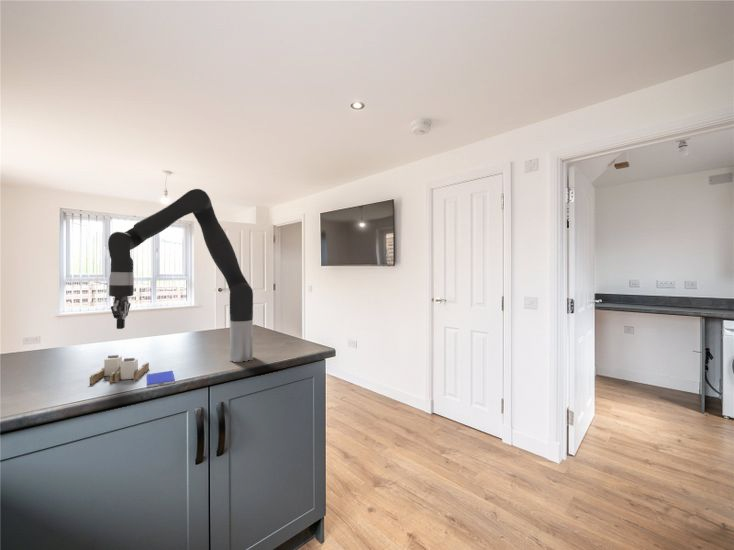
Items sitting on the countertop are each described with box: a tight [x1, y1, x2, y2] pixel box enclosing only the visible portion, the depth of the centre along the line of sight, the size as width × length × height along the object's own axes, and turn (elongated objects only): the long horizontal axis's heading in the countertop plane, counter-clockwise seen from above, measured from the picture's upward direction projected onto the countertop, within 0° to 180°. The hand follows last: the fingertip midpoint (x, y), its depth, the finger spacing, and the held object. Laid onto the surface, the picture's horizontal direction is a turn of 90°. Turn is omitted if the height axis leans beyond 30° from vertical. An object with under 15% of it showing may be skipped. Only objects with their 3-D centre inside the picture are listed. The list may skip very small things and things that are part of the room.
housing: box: [89, 366, 121, 385], centre depth 117 cm, size 6×14×3 cm, turn 19°
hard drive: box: [146, 370, 176, 388], centre depth 114 cm, size 2×8×12 cm
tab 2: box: [120, 357, 139, 381], centre depth 116 cm, size 4×4×7 cm
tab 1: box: [103, 354, 123, 377], centre depth 120 cm, size 4×4×7 cm
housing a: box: [114, 362, 150, 383], centre depth 119 cm, size 6×14×3 cm, turn 19°
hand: (120, 328), depth 125 cm, fingers closed
